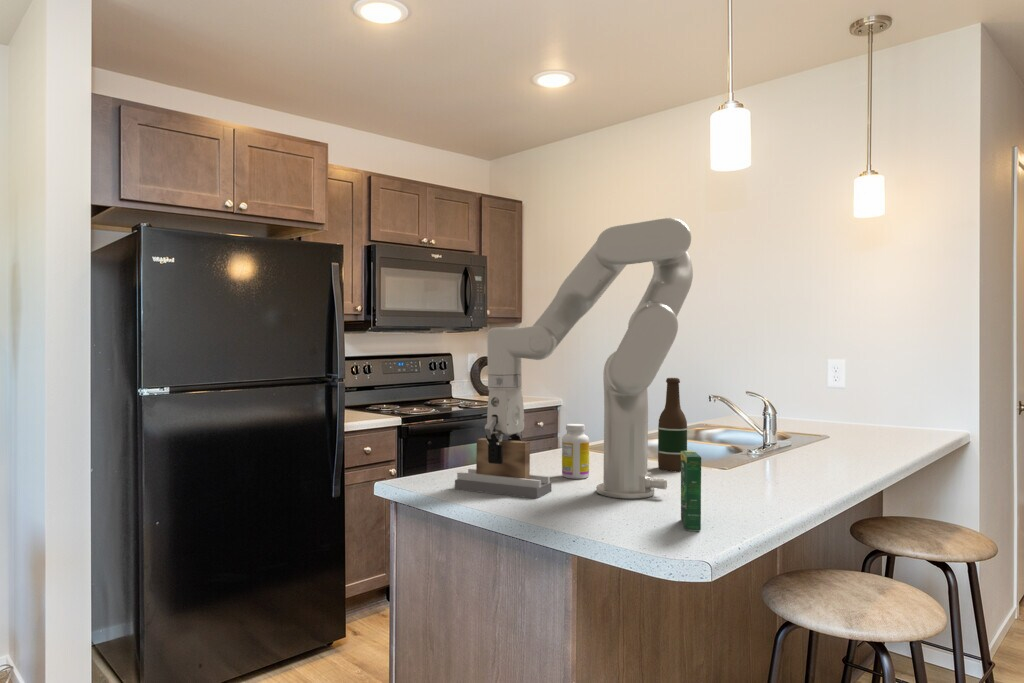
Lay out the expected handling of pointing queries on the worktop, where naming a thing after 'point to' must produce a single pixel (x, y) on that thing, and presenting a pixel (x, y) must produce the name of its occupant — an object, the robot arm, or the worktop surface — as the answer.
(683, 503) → the coffee box
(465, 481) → the rail
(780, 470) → the worktop surface
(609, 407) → the robot arm
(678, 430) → the beer bottle
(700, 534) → the worktop surface
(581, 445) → the supplement bottle
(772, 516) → the worktop surface
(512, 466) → the door panel
